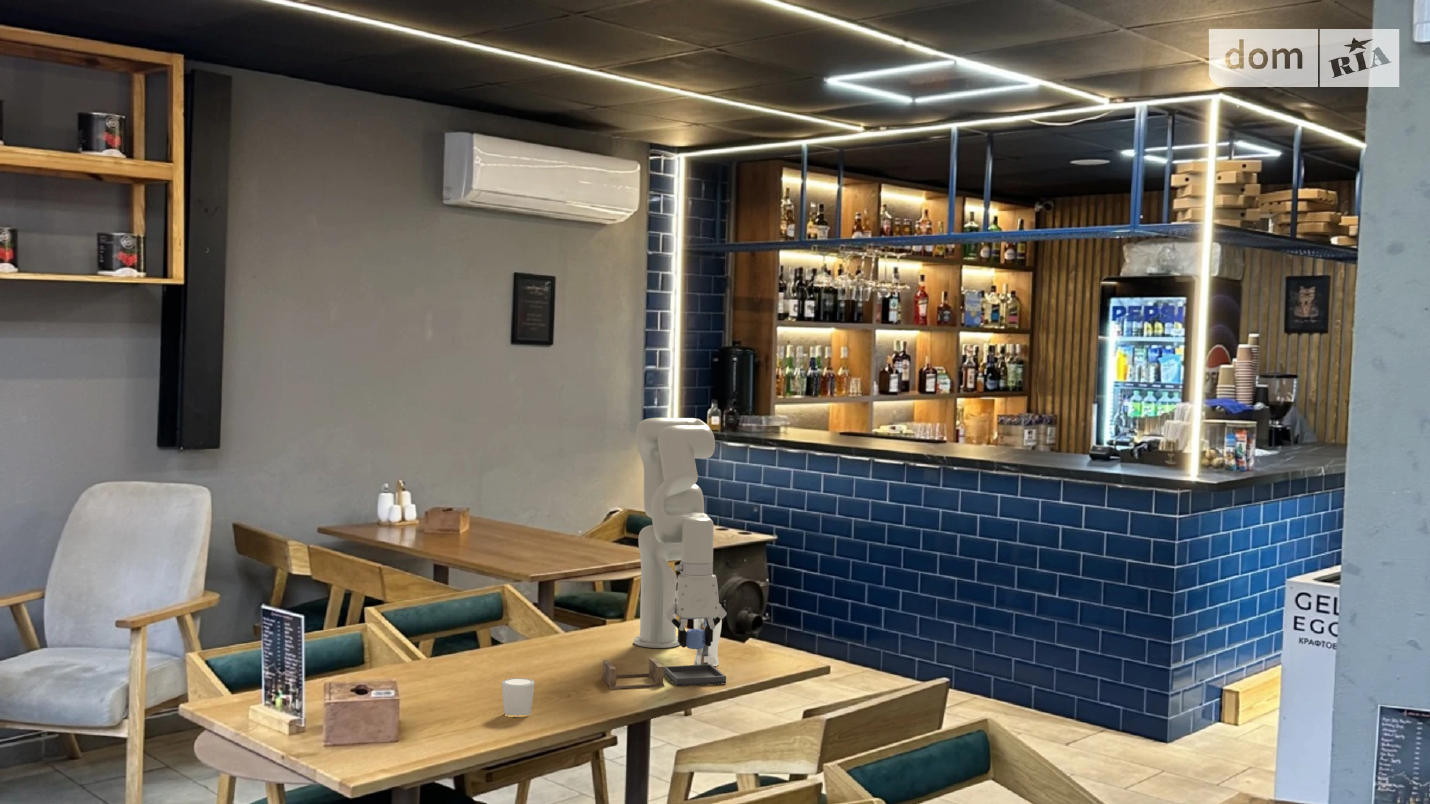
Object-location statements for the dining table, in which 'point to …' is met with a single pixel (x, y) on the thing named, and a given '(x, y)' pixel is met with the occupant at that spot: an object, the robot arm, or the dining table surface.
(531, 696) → the white cup
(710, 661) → the beer glass
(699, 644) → the decorative dice
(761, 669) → the dining table surface
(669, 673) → the tray
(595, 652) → the dining table surface
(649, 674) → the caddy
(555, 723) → the dining table surface
